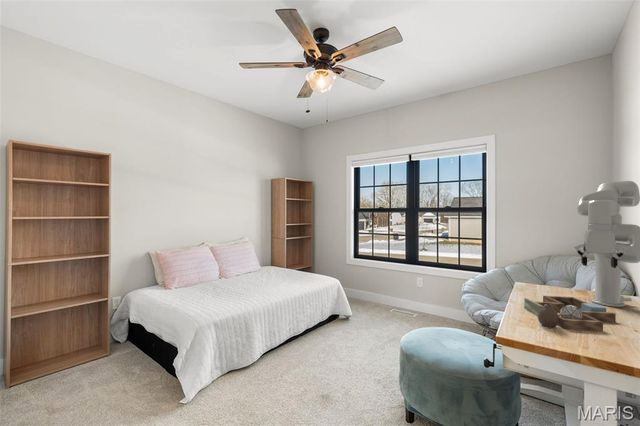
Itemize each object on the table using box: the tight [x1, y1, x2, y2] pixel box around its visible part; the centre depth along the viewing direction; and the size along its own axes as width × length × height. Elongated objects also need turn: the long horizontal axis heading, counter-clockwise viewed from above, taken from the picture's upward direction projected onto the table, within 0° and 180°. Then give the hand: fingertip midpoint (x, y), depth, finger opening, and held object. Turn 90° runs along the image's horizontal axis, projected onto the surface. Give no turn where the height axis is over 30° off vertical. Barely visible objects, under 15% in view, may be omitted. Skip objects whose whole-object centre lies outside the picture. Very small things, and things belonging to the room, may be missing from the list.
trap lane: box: [523, 295, 617, 332], centre depth 136 cm, size 30×38×5 cm
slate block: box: [581, 302, 607, 312], centre depth 134 cm, size 6×6×5 cm
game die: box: [558, 303, 584, 320], centre depth 125 cm, size 9×8×10 cm
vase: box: [537, 304, 559, 329], centre depth 121 cm, size 7×7×9 cm
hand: (598, 266), depth 132 cm, fingers open, 9 cm apart
